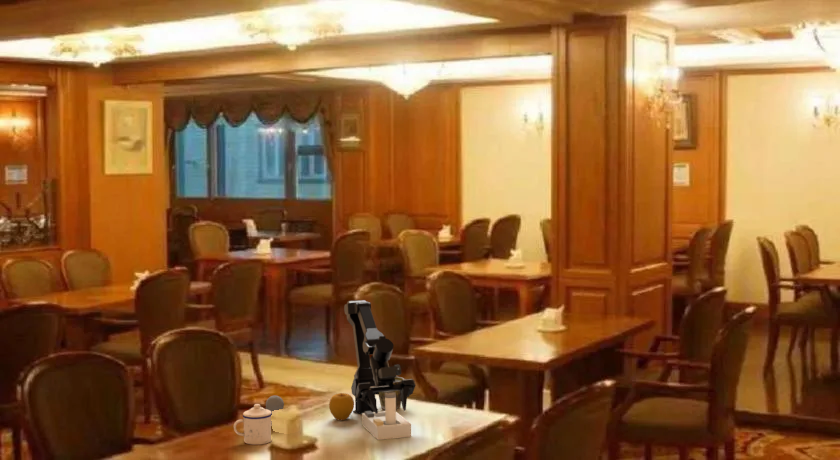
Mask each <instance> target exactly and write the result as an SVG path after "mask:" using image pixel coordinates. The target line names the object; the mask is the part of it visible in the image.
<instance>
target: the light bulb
mask: <svg viewBox="0 0 840 460" xmlns="http://www.w3.org/2000/svg"><path fill="white" fill-rule="evenodd" d="M284 406H285V402H284V400H283V398H282V397H281V396H278V395H271V396H269V397H268V398H267V399H266V401H265V409H267V410H270V411H271V412H272V411H274V410H279V409H284Z"/></svg>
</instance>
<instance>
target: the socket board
mask: <svg viewBox="0 0 840 460" xmlns="http://www.w3.org/2000/svg"><path fill="white" fill-rule="evenodd" d="M361 417H362V418H361V419H362V420H361V421H362V422H361V424H362V425H361V426H363V428H365V429H366V430H367V431H368V432H369V433H370V434H371V435H372V437H374V438H375V439H376V440H377V441H378V440H390V439H399V438H411V437H412V424H411V422H409V421H408V420H407V419H406V418H405V417H403V416H402V415H401V414H400V413H399V412H397V411H396V424H394V425H385V410H382V411H378V413H377V414H376V413H375V412H371V411H365V413H361Z"/></svg>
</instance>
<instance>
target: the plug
mask: <svg viewBox="0 0 840 460" xmlns="http://www.w3.org/2000/svg"><path fill="white" fill-rule="evenodd" d="M384 411H385V425H394V424H396V412H397V409H396V393H395V392H386V393H385V409H384Z"/></svg>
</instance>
